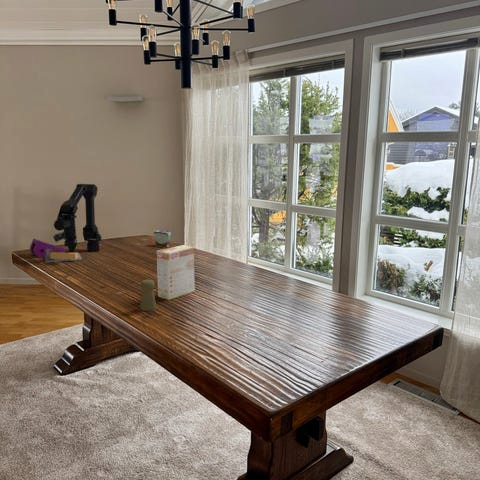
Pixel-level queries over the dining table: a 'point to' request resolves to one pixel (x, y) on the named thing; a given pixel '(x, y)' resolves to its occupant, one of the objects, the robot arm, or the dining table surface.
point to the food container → (162, 238)
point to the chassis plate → (62, 259)
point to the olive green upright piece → (147, 295)
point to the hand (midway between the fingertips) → (71, 255)
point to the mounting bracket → (43, 248)
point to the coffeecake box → (175, 271)
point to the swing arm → (60, 255)
